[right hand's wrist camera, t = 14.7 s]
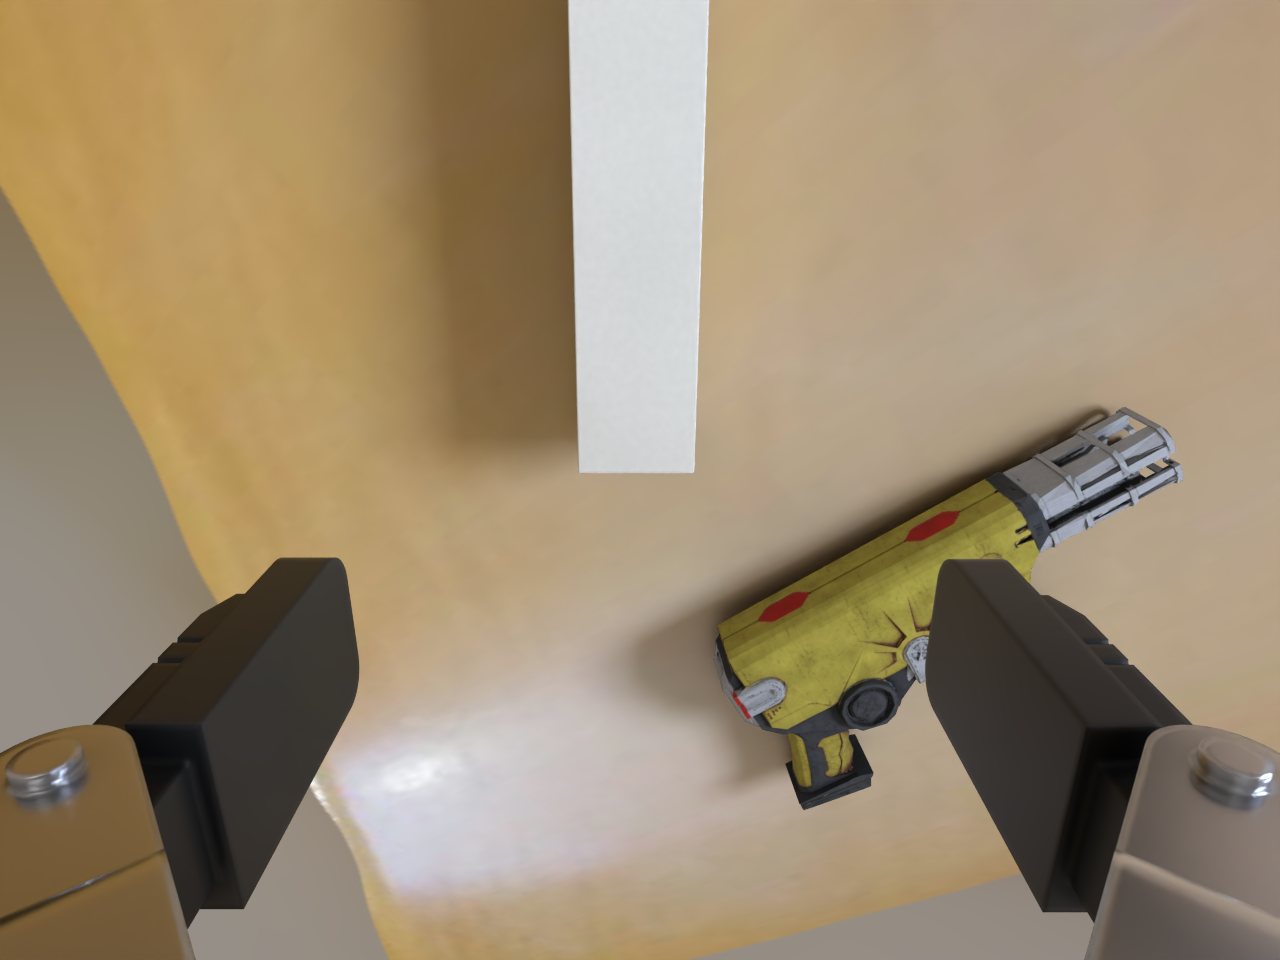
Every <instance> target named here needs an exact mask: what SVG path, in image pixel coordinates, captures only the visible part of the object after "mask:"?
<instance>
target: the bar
mask: <svg viewBox="0 0 1280 960" xmlns="http://www.w3.org/2000/svg"><path fill="white" fill-rule="evenodd" d="M708 20H709V0H568V41H569V85H570V129H571V174H572V218H573V263H574V307H575V351H576V396H577V440H578V472H579V473H694V465H695V433H696V401H697V370H698V338H699V306H700V274H701V242H702V211H703V179H704V147H705V115H706V84H707V52H708Z"/></svg>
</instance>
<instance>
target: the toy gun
mask: <svg viewBox="0 0 1280 960" xmlns="http://www.w3.org/2000/svg"><path fill="white" fill-rule="evenodd" d="M1129 417H1132V418H1134V419H1136V420H1138V421H1139V422H1141V423H1143V424H1145V425H1147V427H1146V428H1144V429H1142V430H1140V431H1138V432H1136V433H1135V431H1134V428H1132V427H1131V426H1130V425H1129V422H1128V419H1127V418H1129ZM1123 428H1124V429H1125V430H1127V431H1128V432H1129V434H1130V436H1128V437H1126V438H1124V439H1122V440H1120V441H1118V442H1116V443H1114V444H1112V445H1110V446H1108V445H1106V444H1107V440H1108V438H1106V437H1108V436H1110V435H1112V434H1114V433H1116V432H1118V431H1119V430H1121V429H1123ZM1145 451H1146V452H1145ZM1143 452H1144V453H1143ZM1173 452H1176V449H1175V446H1174V443H1173V439H1172V438H1171V436H1170V435H1169V433H1168V431H1167V430H1166V429H1164V428H1163V427H1162V426H1160V425H1158V424H1156V423H1154V422H1152V421H1150V420H1148V419H1147V418H1145V417H1143V416H1141V415H1139V414H1137V413H1135V412H1133V411H1131V410H1130V409H1128V408H1126V407H1123V408H1121V409H1119V410H1118V411H1116V414H1114V415H1113V416H1111V417H1109V418H1107V419H1105V420H1103V421H1101V422H1099V423H1097V424H1095V425H1094V426H1092V427H1090V428H1088V429H1086V430H1084V431H1082V430H1080V431H1079V432H1077V433H1076V434H1075V435H1074V437H1072V438H1070V439H1068V440H1066V441H1064V442H1062V443H1060V444H1058V445H1056V446H1055V447H1053V448H1051V449H1049V450H1047V451H1045V452H1043V453H1041V454H1039V453H1038V454H1036V455H1035V456H1033V457H1032V458H1033V459H1031V460H1029V461H1026V462H1024V463H1022V464H1020V465H1018V466H1016V467H1013V468H1011V469H1009V470H1007V471H1005V472H1003V473H1001V472H999V471H998V472H996V473H994V474H993V475H991V476H989V477H987V478H986V479H984V480H982V481H980V482H978V483H977V484H975V485H973V486H971V487H969V488H967V489H966V490H964V491H962V492H960V493H958V494H956V495H955V496H953V497H951V498H949V499H947V500H945V501H944V502H942V503H940V504H938V505H936V506H934V507H933V508H931V509H929V510H927V511H925V512H923V513H922V514H920V515H918V516H916V517H914V518H913V519H911V520H909V521H907V522H905V523H903V524H902V525H900V526H898V527H896V528H894V529H892V530H891V531H889V532H887V533H885V534H883V535H881V536H880V537H878V538H876V539H874V540H872V541H870V542H869V543H867V544H865V545H863V546H861V547H859V548H858V549H856V550H854V551H852V552H850V553H848V554H847V555H845V556H843V557H841V558H839V559H837V560H836V561H834V562H832V563H830V564H828V565H826V566H825V567H823V568H821V569H819V570H817V571H815V572H814V573H812V574H810V575H808V576H806V577H805V578H803V579H801V580H799V581H797V582H795V583H794V584H792V585H790V586H788V587H786V588H784V589H783V590H781V591H779V592H777V593H775V594H773V595H772V596H770V597H768V598H766V599H764V600H762V601H761V602H759V603H757V604H755V605H753V606H751V607H750V608H748V609H746V610H744V611H742V612H740V613H739V614H737V615H735V616H733V617H731V618H729V619H728V620H726V621H724V622H722V623H720V624H718V625H717V626H718V629H719V632H720V633H719V636H718V638H717V639H716V647H715V654H714V661H715V665H716V668H717V672H718V675H719V678H720V682H721V685H722V688H723V691H724V692H725V694H726V695H727V697H728V698H729V699H730V701H731V702H732V703H733V705H734V706H735V708H736V709H737V710H738V712H739V713H740V715H741V716H742V717H743V719H744V720H745V722H748V723H751V724H754V725H756V726H760V727H761V728H762V729H763V730H767V731H771V732H776V733H780V734H787V735H788V739H789V743H790V747H791V751H792V761H790V762H788V763H786V767H787V770H788V773H789V776H790V778H791V781H792V784H793V787H794V790H795V792H796V795H797V798H798V801H799V804H801V806H802V808H803V810H805V809H809V808H812V807H815V806H817V805H820V804H823V803H826V802H829V801H831V800H834V799H837V798H840V797H843V796H845V795H848V794H851V793H854V792H857V791H859V790H862V789H865V788H867V787H870V786H871V777H872V776H873V771H872V769H871V767H870V765H869V762H868V760H867V758H866V756H865V754H864V752H863V750H862V748H861V746H860V744H859V742H858V740H857V737H856V735H855V734H854V735H849V730H848V729H860V730H863V731H864V730H867V729H870V728H874V727H877V726H880V725H883V724H886V723H888V722H889V721H890V720H891V719H892V718H893V717H894V716H895V715H896V712H897V709H898V707H899V706H900V704H901V700H902V698H903V697H904V695H905V694H906V693H907V691H908V690H909V688H910V687H911V685H912V684H913V683H914V681H915V680H916V679H917V681H918V682H919V683H922V682H924V681H926V679H925V661H926V653H927V646H928V639H929V633H930V626H931V619H932V612H933V605H934V598H935V591H936V585H937V578H938V573H939V570H940V567H941V565H942V564H943V562H944V561H945V560H947V559H1005V560H1007V561H1009V562H1010V563H1011V564H1012V565H1013V566H1014V567H1015V569H1016V570H1017V571H1018V572H1019V573H1020V574H1021V575H1022V576H1023V577H1024V578H1025V579H1026V580H1027V581H1028V582H1029V583H1030V578H1031V569H1032V567H1033V564H1034V562H1035V560H1036V558H1037V556H1038V554H1039V553H1041V552H1043V551H1045V550H1047V549H1049V548H1051V547H1054V548H1055V547H1056V546H1057V545H1059V544H1060V541H1062V540H1064V539H1066V538H1068V537H1071V536H1073V535H1075V534H1077V533H1079V532H1081V531H1083V530H1088V529H1089V528H1091V527H1092V526H1093V525H1094V524H1096V523H1098V522H1099V521H1101V520H1103V519H1105V518H1107V517H1109V516H1111V515H1113V514H1115V513H1117V512H1119V511H1121V510H1123V509H1125V508H1126V507H1128V506H1134V505H1135V504H1137V503H1139V500H1138V499H1140V498H1142V497H1144V496H1147V495H1149V494H1151V493H1153V492H1155V491H1157V490H1159V489H1161V488H1163V487H1165V486H1167V485H1170V484H1172V483H1178V482H1180V481H1182V480H1183V476H1184V475H1183V471H1182V468H1181V464H1179V463H1177V462H1175V461H1174V460H1172V459H1170V458H1169V454H1171V453H1173ZM1161 458H1163V462H1165V463H1166V464H1168V465H1169V466H1167V467H1165V468H1161V467H1159V466H1158V465H1156V464H1154V463H1153V462H1155V461H1157V460H1159V459H1161ZM1144 467H1147V468H1149V469H1150V470H1152V471H1154V472H1155V473H1154V474H1152V475H1150V476H1148V477H1146V478H1145V477H1144V476H1142V475H1141V474H1140V473H1139V470H1140V469H1142V468H1144Z"/></svg>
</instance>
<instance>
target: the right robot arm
mask: <svg viewBox="0 0 1280 960" xmlns="http://www.w3.org/2000/svg"><path fill="white" fill-rule="evenodd" d="M925 679H926V687H927V692H928V697H929V700H930V703H931V706H932V708H933V710H934V712H935V714H936V716H937V717H938V719H939V721H940V723H941V725H942V727H943V728H944V730H945V732H946V734H947V736H948V738H949V740H950V741H951V743H952V745H953V747H954V749H955V751H956V753H957V754H958V756H959V758H960V760H961V762H962V764H963V765H964V767H965V769H966V771H967V773H968V775H969V777H970V778H971V780H972V782H973V784H974V786H975V788H976V790H977V791H978V793H979V795H980V797H981V799H982V801H983V802H984V804H985V806H986V808H987V810H988V812H989V814H990V815H991V817H992V819H993V821H994V823H995V825H996V826H997V828H998V830H999V832H1000V834H1001V836H1002V838H1003V839H1004V841H1005V843H1006V845H1007V847H1008V849H1009V851H1010V852H1011V854H1012V856H1013V858H1014V860H1015V862H1016V863H1017V865H1018V867H1019V869H1020V871H1021V873H1022V875H1023V876H1024V878H1025V880H1026V882H1027V884H1028V886H1029V888H1030V889H1031V891H1032V893H1033V895H1034V897H1035V899H1036V900H1037V902H1038V904H1039V906H1040V908H1041V910H1042V911H1043V912H1088V914H1089V916H1090V917H1091V919H1092V921H1093V922H1094V927H1093V930H1092V934H1091V938H1090V941H1089V945H1088V948H1087V952H1086V955H1085V959H1084V960H1280V753H1278V752H1277V751H1275V750H1273V749H1271V748H1269V747H1267V746H1265V745H1263V744H1261V743H1258V742H1256V741H1254V740H1252V739H1249V738H1246V737H1244V736H1241V735H1238V734H1235V733H1232V732H1228V731H1225V730H1221V729H1216V728H1211V727H1206V726H1198V725H1192V724H1191V722H1190V721H1189V720H1188V719H1187V718H1186V717H1185V716H1184V715H1183V714H1182V713H1181V712H1180V711H1179V710H1178V709H1177V708H1176V707H1175V706H1174V705H1173V704H1172V703H1171V702H1170V701H1169V700H1168V699H1167V698H1166V697H1165V696H1164V695H1163V694H1162V693H1161V692H1160V691H1159V690H1158V689H1157V688H1156V687H1155V686H1154V685H1153V684H1152V683H1151V682H1150V681H1149V680H1148V679H1147V678H1146V677H1145V676H1144V675H1143V674H1142V673H1141V672H1140V671H1139V670H1138V669H1137V668H1136V667H1135V666H1134V665H1129V664H1128V659H1127V658H1126V657H1125V656H1124V655H1123V654H1122V653H1121V652H1120V651H1119V650H1118V649H1117V648H1116V647H1115V646H1114V645H1113V644H1109V643H1108V639H1107V638H1106V637H1105V636H1104V635H1103V634H1102V633H1101V632H1100V631H1099V630H1098V629H1097V628H1096V627H1095V626H1094V625H1093V624H1092V623H1091V622H1090V621H1089V620H1088V619H1087V618H1086V617H1085V616H1084V615H1083V614H1081V613H1079V612H1077V611H1075V610H1074V609H1072V608H1070V607H1068V606H1067V605H1065V604H1063V603H1061V602H1059V601H1058V600H1056V599H1054V598H1052V597H1051V596H1049V595H1040V594H1039V593H1038V592H1037V591H1036V590H1035V589H1034V588H1033V587H1032V586H1031V585H1030V583H1029V582H1028V581H1027V580H1026V579H1025V578H1024V577H1023V576H1022V575H1021V574H1020V573H1019V572H1018V571H1017V570H1016V569H1015V567H1014V566H1013V565H1012V564H1011V563H1010V562H1009V561H1007V560H1005V559H947V560H945V561H944V562H943V564H942V565H941V567H940V570H939V573H938V578H937V585H936V591H935V598H934V605H933V612H932V619H931V626H930V633H929V639H928V646H927V653H926V661H925ZM358 681H359V657H358V649H357V642H356V636H355V629H354V622H353V615H352V608H351V601H350V594H349V587H348V580H347V574H346V570H345V567H344V565H343V563H342V561H341V560H340V559H338V558H279V559H277V560H276V561H275V562H274V563H273V564H272V565H271V566H270V567H269V568H268V569H267V571H266V572H265V573H264V574H263V575H262V576H261V577H260V578H259V579H258V580H257V581H256V582H255V584H254V585H253V586H252V587H251V588H250V589H249V590H248V591H247V592H246V593H245V594H236V595H234V596H232V597H230V598H229V599H227V600H225V601H223V602H221V603H220V604H218V605H216V606H214V607H213V608H211V609H209V610H207V611H206V612H204V613H202V614H201V615H200V616H199V617H198V618H197V619H196V620H195V621H194V622H193V623H192V624H191V625H190V626H189V627H188V628H187V629H186V630H185V631H184V632H183V633H182V634H181V635H180V636H179V637H178V641H177V643H172V644H171V645H170V646H169V647H168V648H167V649H166V650H165V651H164V652H163V653H162V654H161V655H160V656H159V657H158V663H152V664H151V665H150V666H149V667H148V669H147V670H146V671H145V672H144V673H143V674H142V675H141V676H140V677H139V678H138V679H137V680H136V681H135V682H134V683H133V684H132V685H131V686H130V687H129V688H128V689H127V690H126V691H125V692H124V693H123V694H122V695H121V696H120V697H119V698H118V699H117V700H116V701H115V702H114V703H113V704H112V705H111V706H110V707H109V708H108V709H107V710H106V711H105V712H104V713H103V714H102V715H101V716H100V717H99V718H98V719H97V720H96V722H94V723H93V724H92V725H82V726H74V727H69V728H64V729H59V730H55V731H52V732H48V733H45V734H42V735H39V736H36V737H34V738H31V739H28V740H26V741H24V742H22V743H19V744H17V745H15V746H13V747H11V748H9V749H7V750H5V751H3V752H2V753H0V960H196V959H195V955H194V952H193V948H192V945H191V941H190V938H189V934H188V930H187V929H188V928H189V926H190V924H191V923H192V921H193V919H194V918H195V916H196V914H197V913H198V911H199V909H244V908H245V906H246V904H247V902H248V900H249V898H250V896H251V894H252V893H253V891H254V889H255V887H256V885H257V883H258V881H259V880H260V878H261V876H262V874H263V872H264V870H265V868H266V866H267V865H268V863H269V861H270V859H271V857H272V855H273V853H274V851H275V850H276V848H277V846H278V844H279V842H280V840H281V838H282V836H283V835H284V833H285V831H286V829H287V827H288V825H289V823H290V821H291V820H292V818H293V816H294V814H295V812H296V810H297V808H298V807H299V805H300V803H301V801H302V799H303V797H304V795H305V793H306V791H307V790H308V788H309V786H310V784H311V782H312V780H313V778H314V777H315V775H316V773H317V771H318V769H319V767H320V765H321V763H322V762H323V760H324V758H325V756H326V754H327V752H328V750H329V748H330V747H331V745H332V743H333V741H334V739H335V737H336V735H337V734H338V732H339V730H340V728H341V726H342V724H343V722H344V720H345V719H346V717H347V715H348V713H349V711H350V709H351V707H352V705H353V703H354V700H355V696H356V693H357V688H358Z"/></svg>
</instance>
